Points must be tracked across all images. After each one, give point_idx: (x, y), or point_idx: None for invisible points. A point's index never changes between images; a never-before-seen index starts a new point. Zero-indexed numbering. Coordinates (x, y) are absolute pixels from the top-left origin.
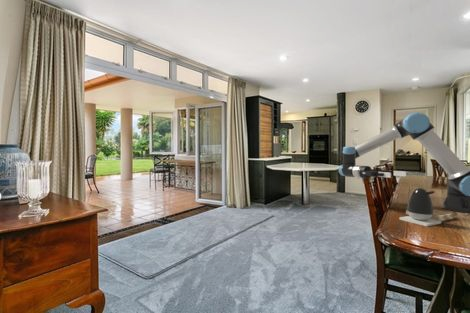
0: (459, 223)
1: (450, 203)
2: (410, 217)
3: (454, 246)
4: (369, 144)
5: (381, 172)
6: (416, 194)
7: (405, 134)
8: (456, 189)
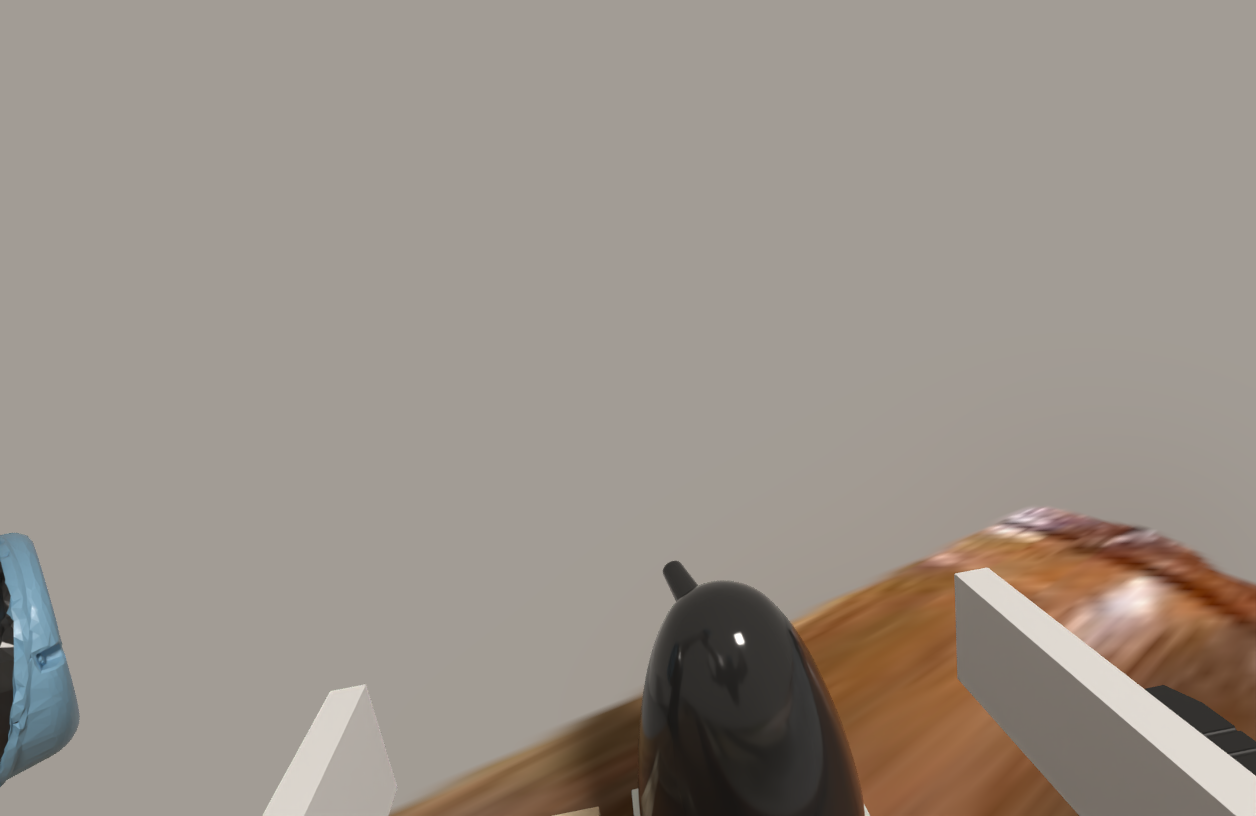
0: (498, 785)
1: None
2: None
3: (959, 565)
4: None
5: (1179, 733)
6: (799, 635)
7: None
8: None
